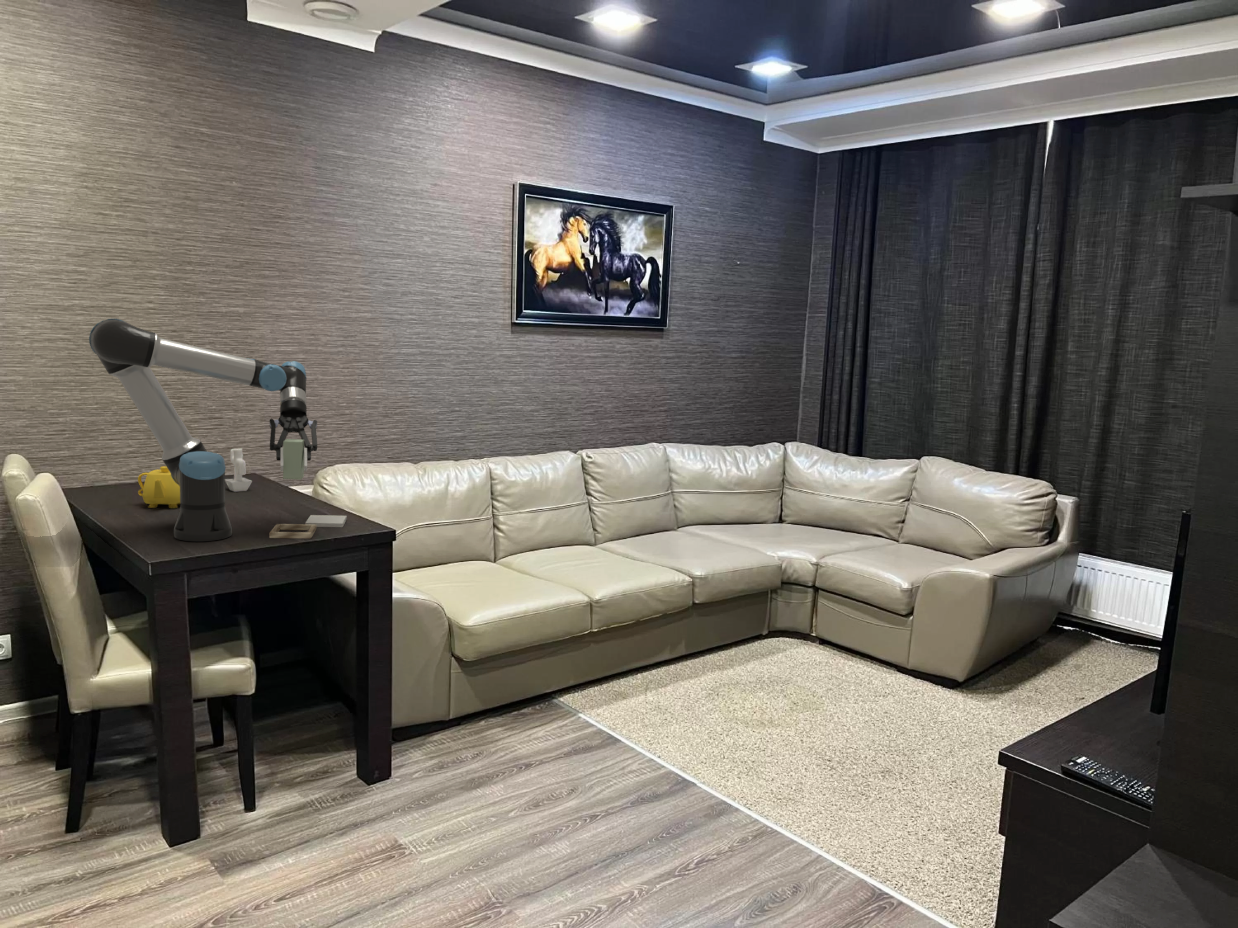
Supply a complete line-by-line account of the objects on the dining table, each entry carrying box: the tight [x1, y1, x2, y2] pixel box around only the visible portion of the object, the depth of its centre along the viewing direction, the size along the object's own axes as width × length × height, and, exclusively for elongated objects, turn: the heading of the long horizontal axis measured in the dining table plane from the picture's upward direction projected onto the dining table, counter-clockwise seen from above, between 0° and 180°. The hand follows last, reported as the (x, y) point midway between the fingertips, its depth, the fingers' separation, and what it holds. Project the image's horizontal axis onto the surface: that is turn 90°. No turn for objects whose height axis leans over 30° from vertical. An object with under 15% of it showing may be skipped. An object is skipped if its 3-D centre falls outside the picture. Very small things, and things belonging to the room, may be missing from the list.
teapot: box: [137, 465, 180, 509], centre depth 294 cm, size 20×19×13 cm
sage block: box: [282, 438, 305, 481], centre depth 265 cm, size 5×5×11 cm
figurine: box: [225, 447, 253, 493], centre depth 324 cm, size 7×9×15 cm
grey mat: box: [304, 514, 348, 528], centre depth 284 cm, size 11×11×1 cm
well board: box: [268, 523, 317, 539], centre depth 268 cm, size 11×11×2 cm
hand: (293, 468), depth 262 cm, fingers closed on sage block, 6 cm apart
